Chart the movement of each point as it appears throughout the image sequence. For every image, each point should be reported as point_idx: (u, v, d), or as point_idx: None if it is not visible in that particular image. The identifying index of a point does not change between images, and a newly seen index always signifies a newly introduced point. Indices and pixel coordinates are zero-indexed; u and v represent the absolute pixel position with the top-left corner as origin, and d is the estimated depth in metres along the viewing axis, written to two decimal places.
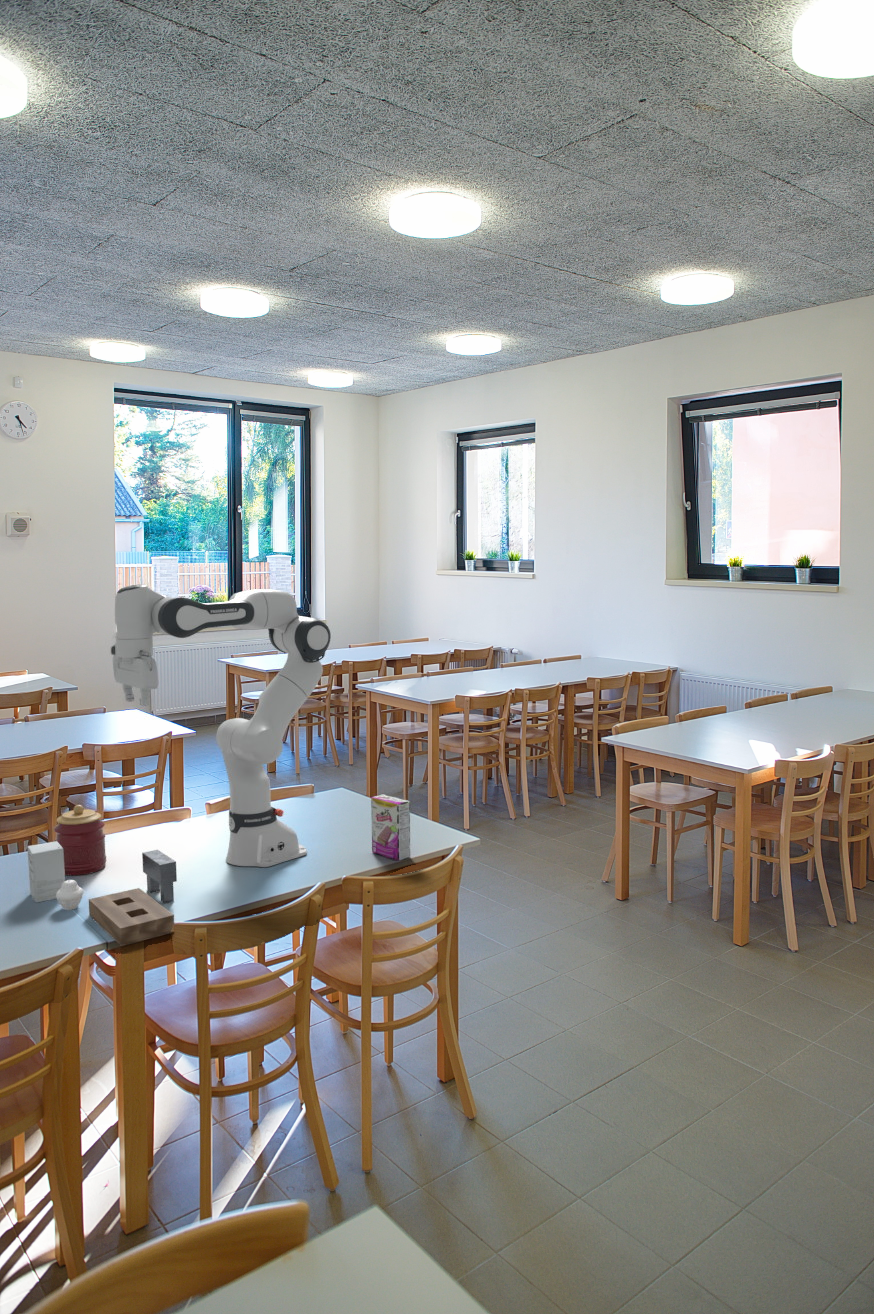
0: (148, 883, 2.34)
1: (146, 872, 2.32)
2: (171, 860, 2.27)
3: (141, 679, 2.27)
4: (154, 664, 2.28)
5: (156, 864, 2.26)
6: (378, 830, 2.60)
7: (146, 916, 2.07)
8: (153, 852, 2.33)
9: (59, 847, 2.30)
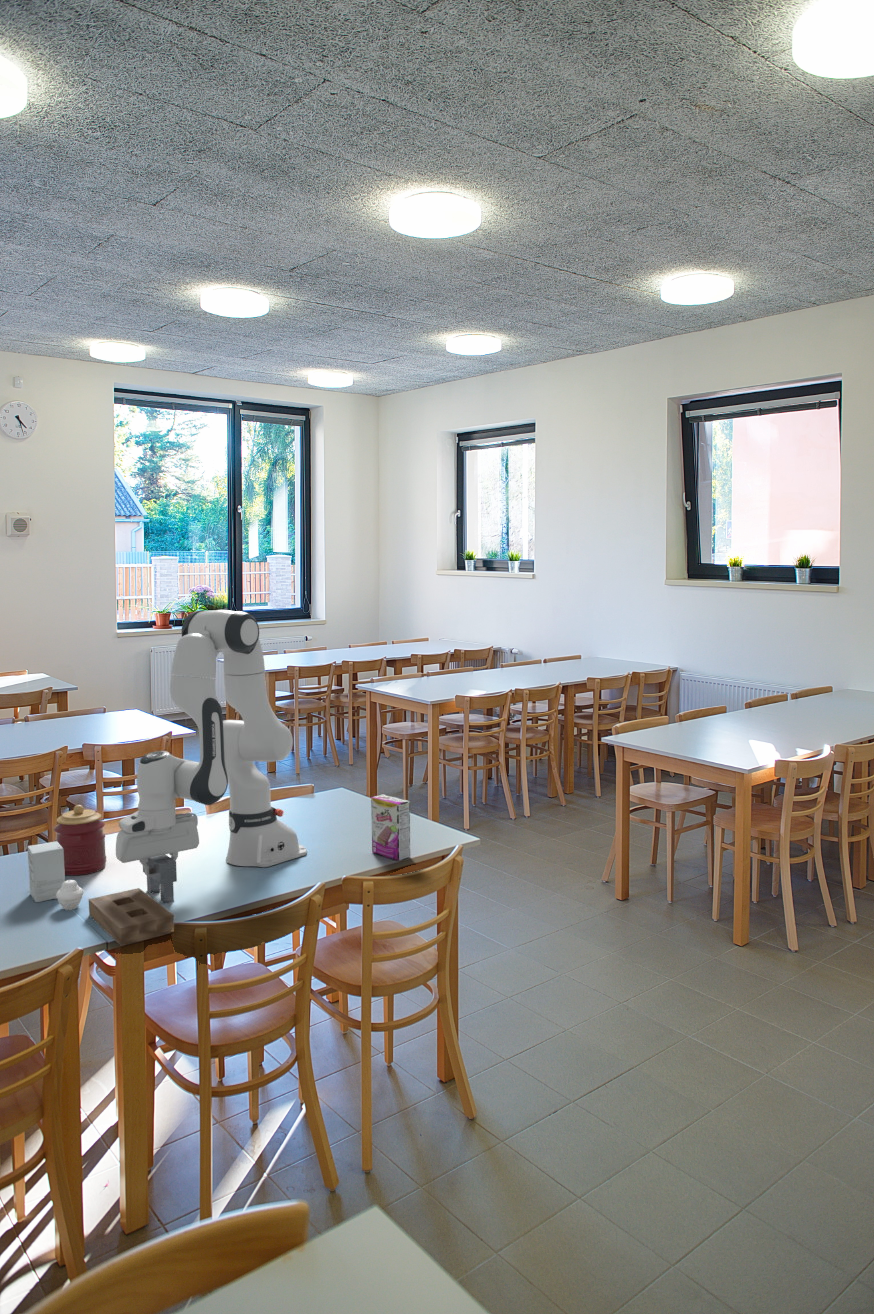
0: (148, 883, 2.34)
1: None
2: (171, 860, 2.27)
3: (191, 840, 2.33)
4: None
5: (156, 864, 2.26)
6: (378, 830, 2.60)
7: (146, 916, 2.07)
8: None
9: (59, 847, 2.30)
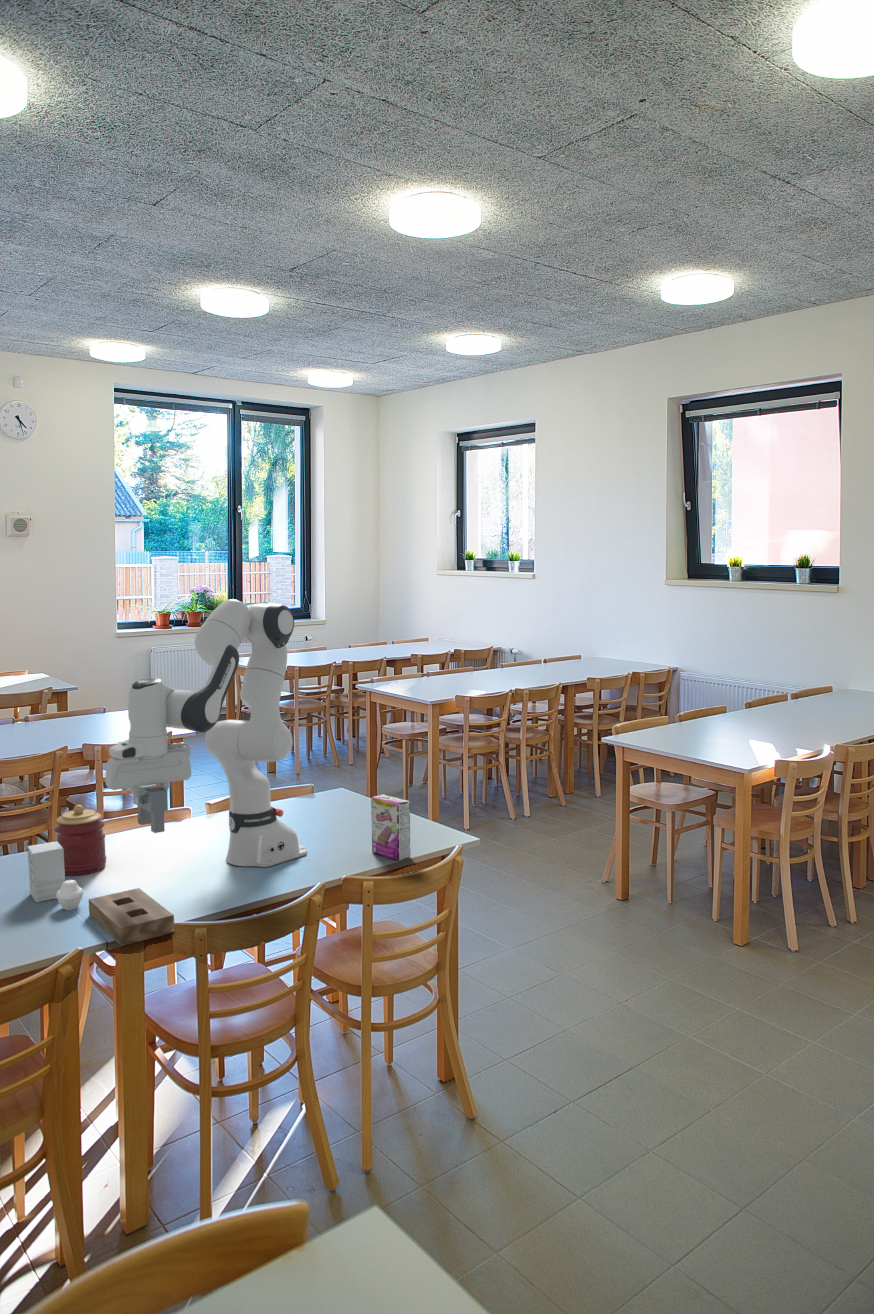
0: (139, 815, 2.28)
1: None
2: (162, 789, 2.22)
3: (183, 770, 2.28)
4: None
5: (147, 792, 2.21)
6: (378, 830, 2.60)
7: (146, 916, 2.07)
8: None
9: (59, 847, 2.30)
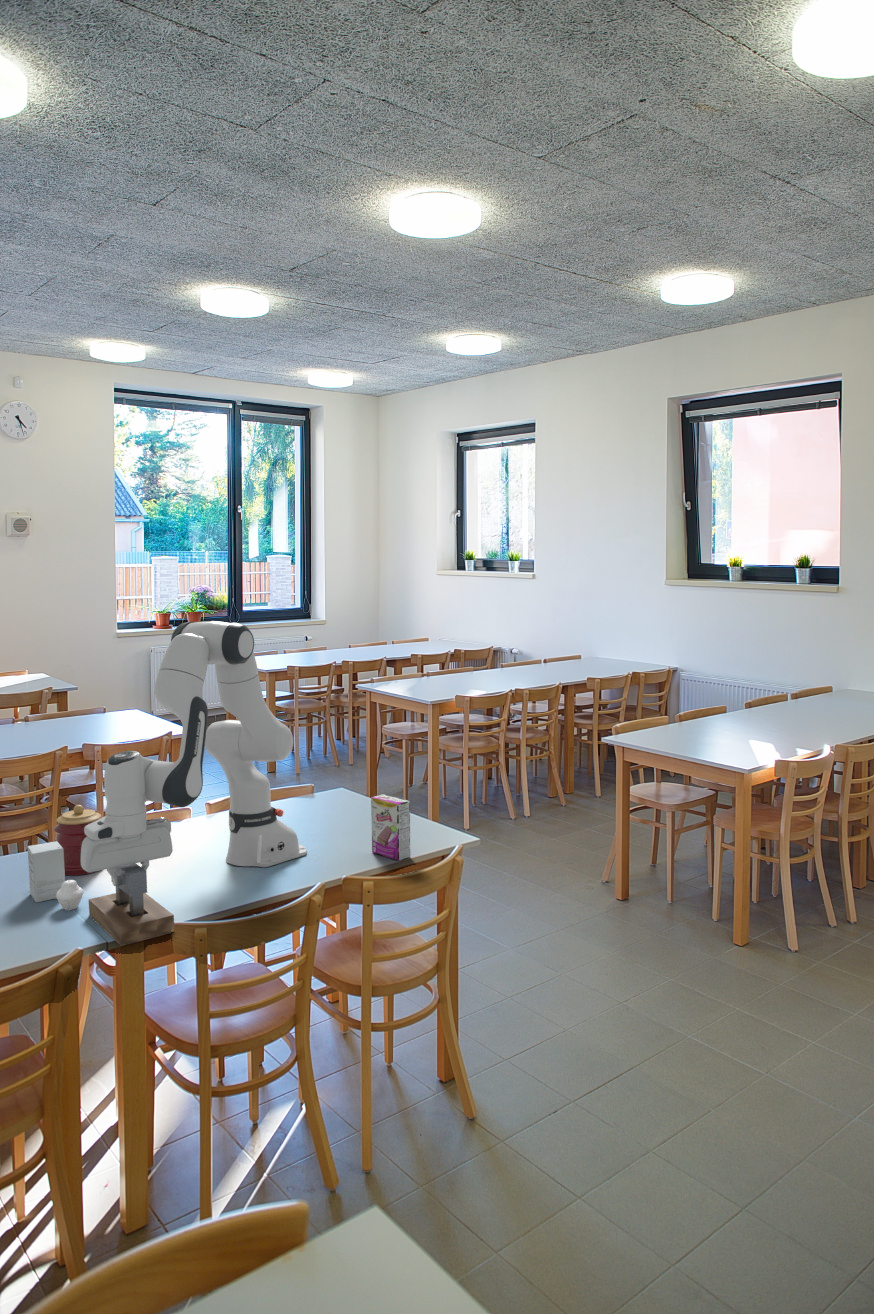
0: (117, 894, 2.15)
1: None
2: (141, 870, 2.09)
3: (164, 847, 2.15)
4: None
5: (125, 874, 2.08)
6: (378, 830, 2.60)
7: (146, 916, 2.07)
8: None
9: (59, 847, 2.30)
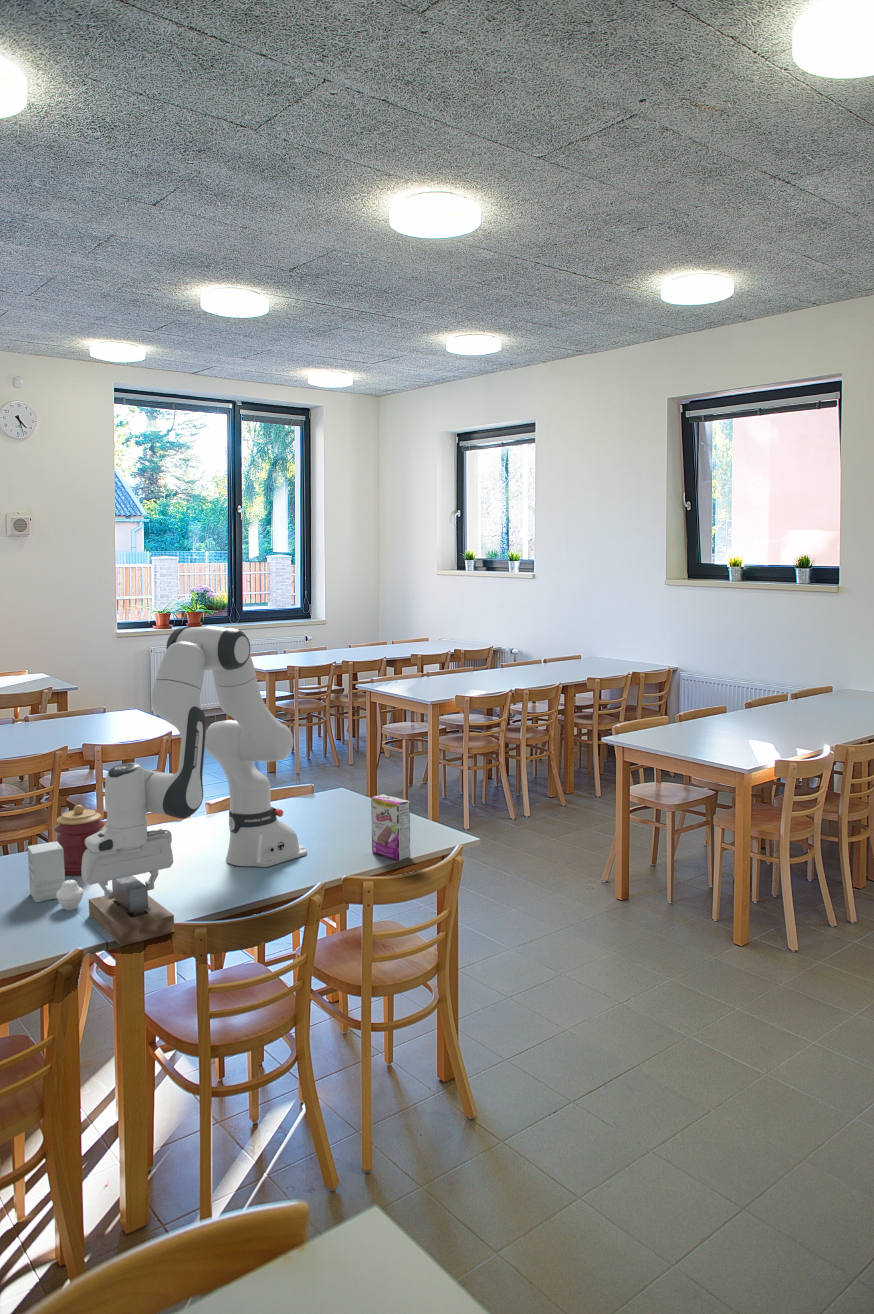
0: None
1: (116, 898, 2.14)
2: (142, 886, 2.09)
3: (165, 859, 2.15)
4: None
5: (126, 890, 2.08)
6: (378, 830, 2.60)
7: (146, 916, 2.07)
8: None
9: (59, 847, 2.30)
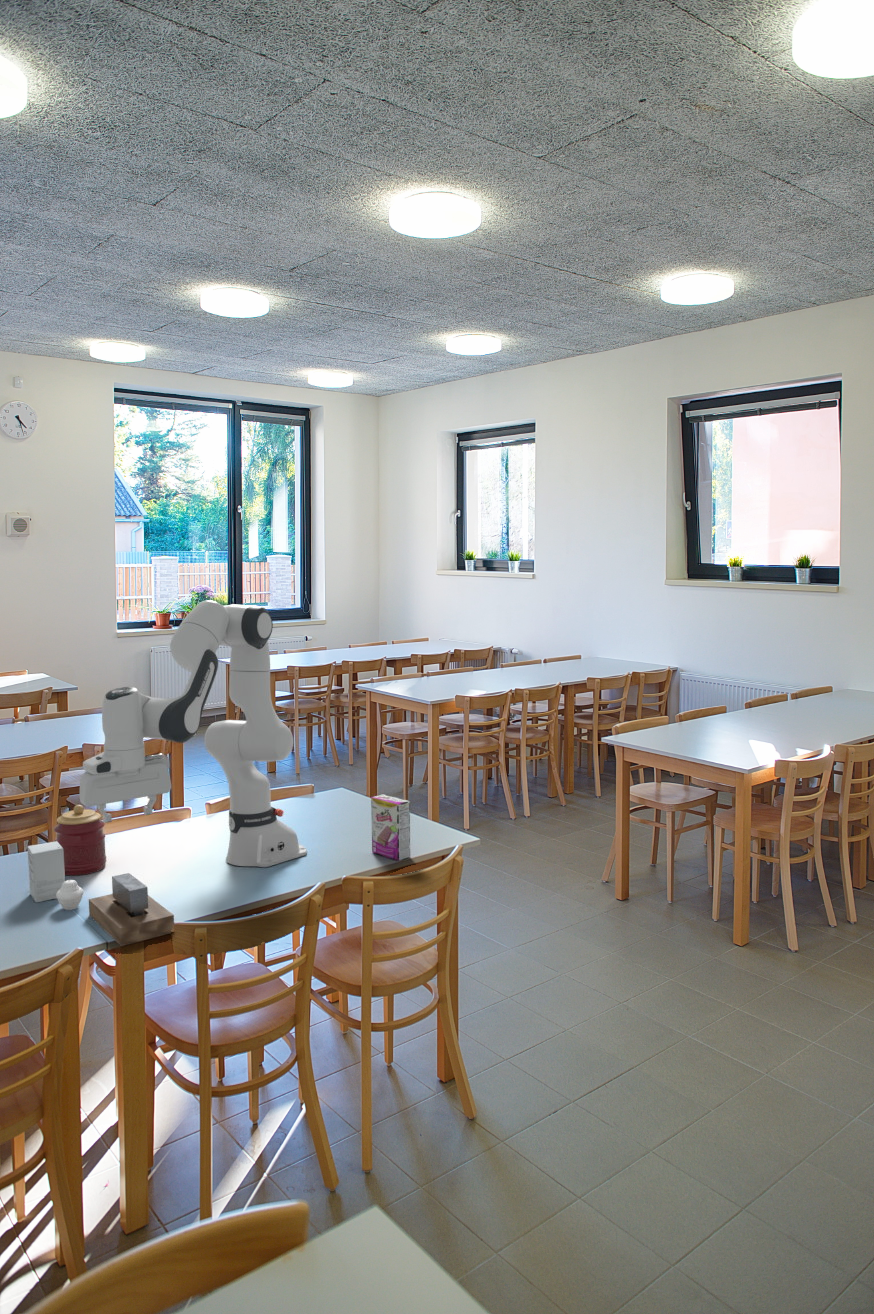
0: None
1: (116, 898, 2.14)
2: (142, 886, 2.09)
3: (163, 783, 2.15)
4: None
5: (126, 890, 2.08)
6: (378, 830, 2.60)
7: (146, 916, 2.07)
8: (124, 876, 2.16)
9: (59, 847, 2.30)
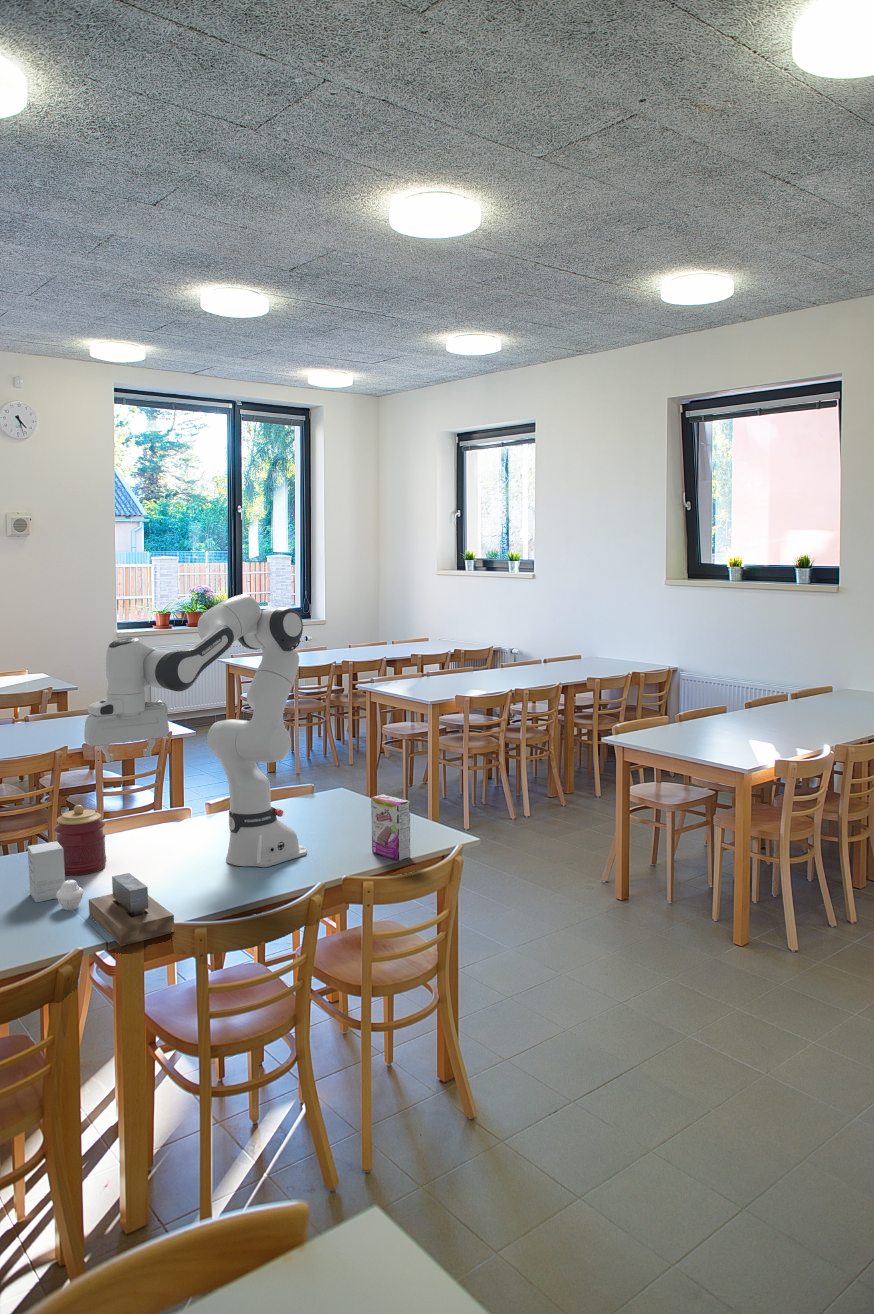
0: None
1: (116, 898, 2.14)
2: (142, 886, 2.09)
3: (161, 728, 2.33)
4: None
5: (126, 890, 2.08)
6: (378, 830, 2.60)
7: (146, 916, 2.07)
8: (124, 876, 2.16)
9: (59, 847, 2.30)
